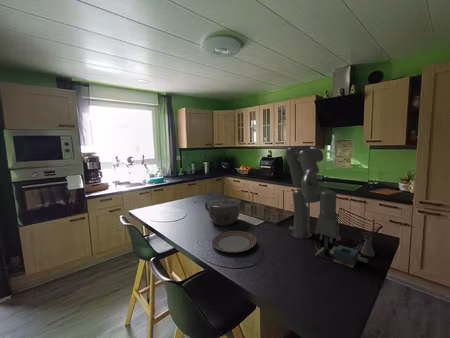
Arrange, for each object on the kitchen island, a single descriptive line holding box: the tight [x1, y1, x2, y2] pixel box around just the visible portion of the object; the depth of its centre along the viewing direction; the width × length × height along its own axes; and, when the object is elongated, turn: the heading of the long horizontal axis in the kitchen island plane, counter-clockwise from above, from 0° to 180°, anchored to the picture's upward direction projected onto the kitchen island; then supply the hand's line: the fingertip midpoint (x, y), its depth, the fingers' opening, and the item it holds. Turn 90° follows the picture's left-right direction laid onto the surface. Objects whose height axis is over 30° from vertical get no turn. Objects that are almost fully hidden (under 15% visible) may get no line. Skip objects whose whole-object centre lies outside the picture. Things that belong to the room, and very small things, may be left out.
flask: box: [360, 236, 376, 257], centre depth 112 cm, size 7×7×10 cm
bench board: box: [314, 245, 362, 269], centre depth 112 cm, size 18×16×1 cm
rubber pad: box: [316, 250, 333, 262], centre depth 112 cm, size 7×7×1 cm
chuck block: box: [333, 244, 369, 265], centre depth 107 cm, size 14×9×4 cm, turn 45°
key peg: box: [323, 236, 330, 255], centre depth 111 cm, size 3×3×10 cm
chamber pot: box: [204, 196, 242, 226], centre depth 166 cm, size 28×28×21 cm
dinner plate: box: [211, 230, 257, 253], centre depth 130 cm, size 27×27×3 cm
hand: (326, 247), depth 111 cm, fingers open, 3 cm apart
